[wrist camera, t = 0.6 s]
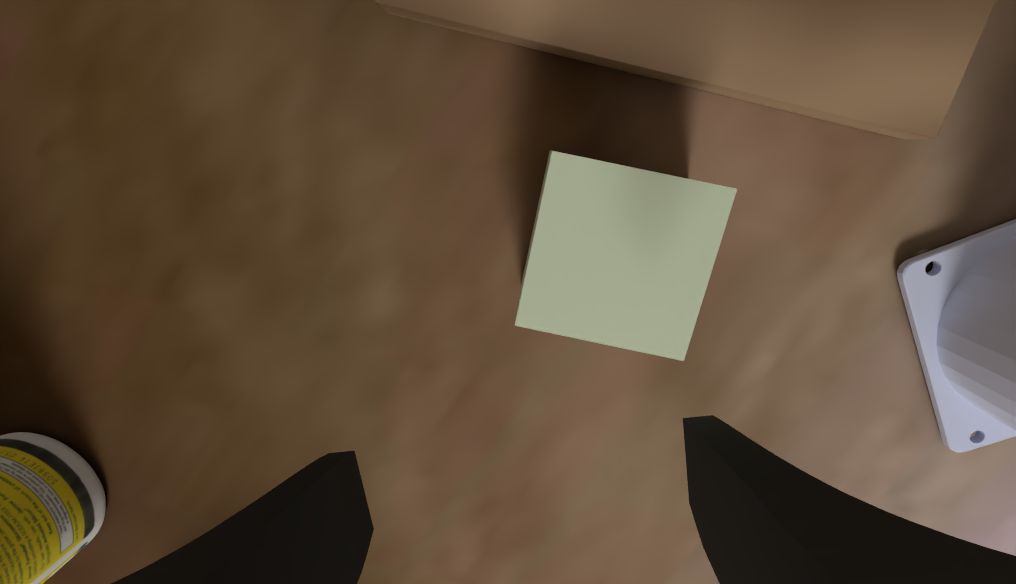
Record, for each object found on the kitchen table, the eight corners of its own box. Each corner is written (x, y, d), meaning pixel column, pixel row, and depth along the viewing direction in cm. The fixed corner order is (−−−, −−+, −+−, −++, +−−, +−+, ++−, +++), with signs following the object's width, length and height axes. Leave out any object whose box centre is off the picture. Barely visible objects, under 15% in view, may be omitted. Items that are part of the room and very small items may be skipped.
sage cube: (687, 179, 19) (737, 189, 14) (650, 310, 20) (683, 361, 15) (549, 150, 19) (552, 150, 14) (521, 283, 20) (514, 325, 15)
